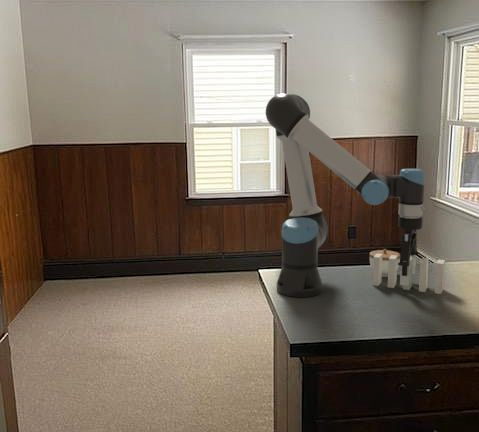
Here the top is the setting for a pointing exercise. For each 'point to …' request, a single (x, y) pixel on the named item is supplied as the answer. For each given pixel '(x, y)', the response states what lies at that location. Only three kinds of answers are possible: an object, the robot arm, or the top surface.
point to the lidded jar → (384, 260)
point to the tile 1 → (377, 269)
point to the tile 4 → (423, 274)
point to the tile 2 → (392, 271)
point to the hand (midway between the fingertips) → (407, 279)
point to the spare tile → (409, 275)
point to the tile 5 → (439, 276)
